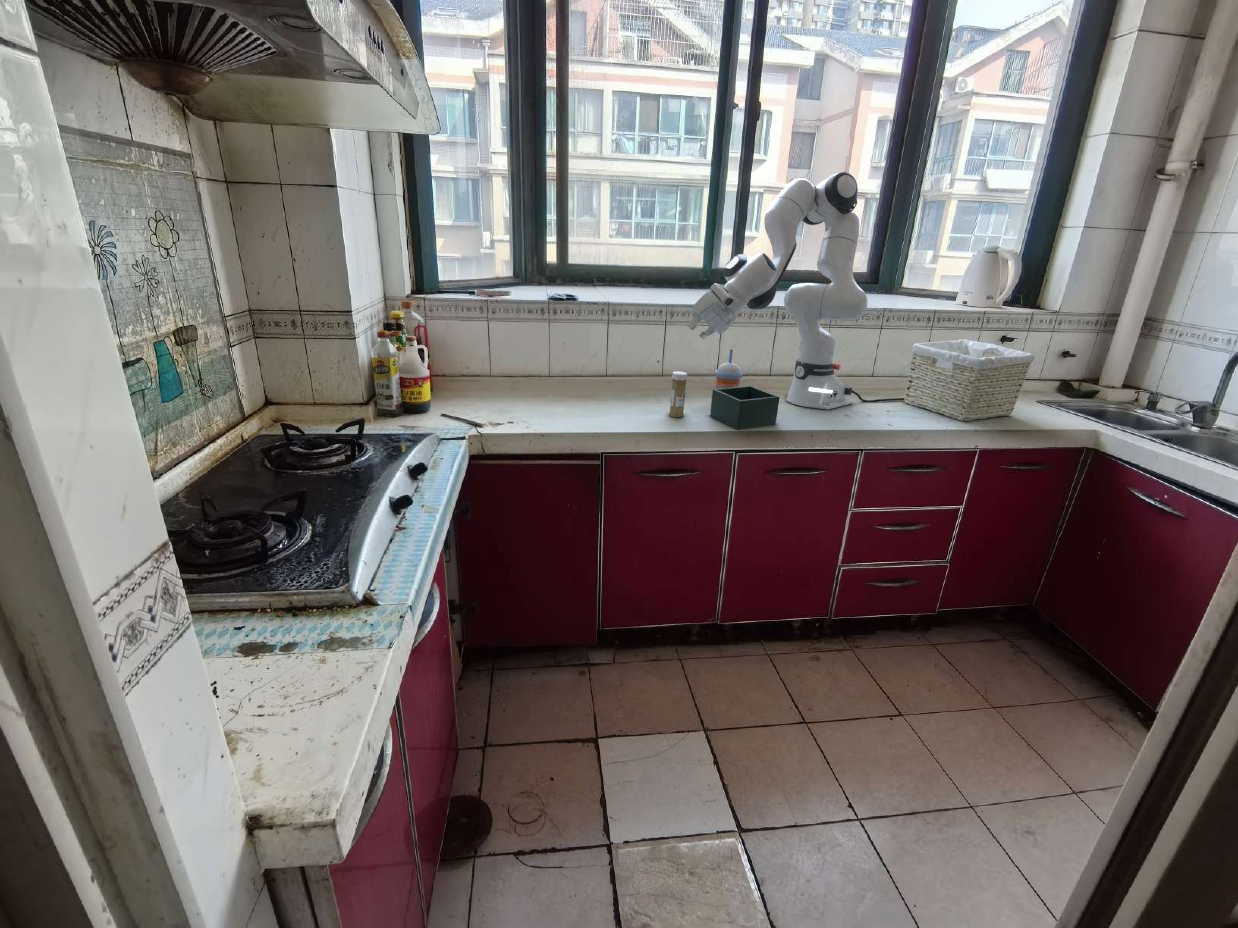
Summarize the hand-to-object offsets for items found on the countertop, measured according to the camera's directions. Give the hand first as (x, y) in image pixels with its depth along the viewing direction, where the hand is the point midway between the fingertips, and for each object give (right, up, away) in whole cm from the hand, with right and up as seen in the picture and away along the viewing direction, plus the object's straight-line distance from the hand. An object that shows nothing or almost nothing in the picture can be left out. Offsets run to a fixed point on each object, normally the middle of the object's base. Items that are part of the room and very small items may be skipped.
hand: (695, 333), depth 182 cm
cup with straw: (+12, -20, +15) cm, 28 cm away
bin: (+14, -27, -1) cm, 31 cm away
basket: (+92, -22, +21) cm, 97 cm away
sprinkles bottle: (-6, -26, +1) cm, 26 cm away
